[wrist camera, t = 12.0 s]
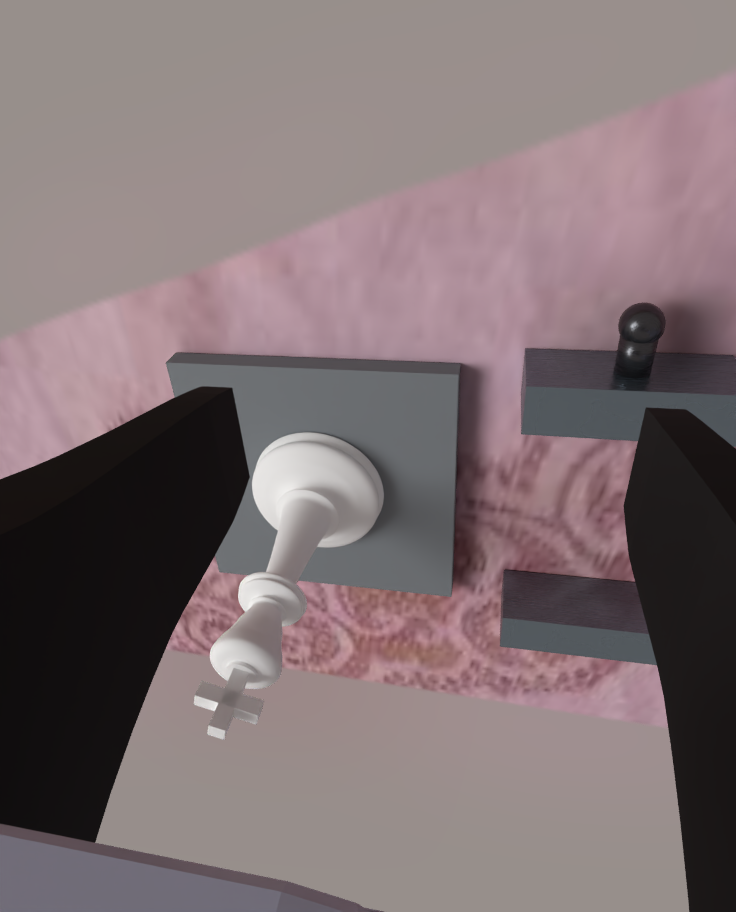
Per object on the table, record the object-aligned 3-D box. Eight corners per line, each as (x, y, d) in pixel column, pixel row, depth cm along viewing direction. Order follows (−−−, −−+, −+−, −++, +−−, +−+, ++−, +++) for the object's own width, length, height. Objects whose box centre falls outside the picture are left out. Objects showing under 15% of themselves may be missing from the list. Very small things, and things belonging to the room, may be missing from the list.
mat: (460, 363, 20) (458, 374, 20) (452, 582, 26) (451, 596, 25) (175, 352, 22) (166, 362, 22) (226, 559, 28) (219, 572, 27)
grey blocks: (753, 289, 18) (783, 325, 16) (655, 614, 25) (667, 666, 23) (531, 286, 19) (532, 319, 17) (501, 597, 26) (499, 646, 24)
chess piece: (367, 552, 25) (295, 807, 17) (248, 514, 25) (121, 751, 17) (398, 456, 22) (331, 709, 14) (264, 414, 22) (120, 642, 14)
